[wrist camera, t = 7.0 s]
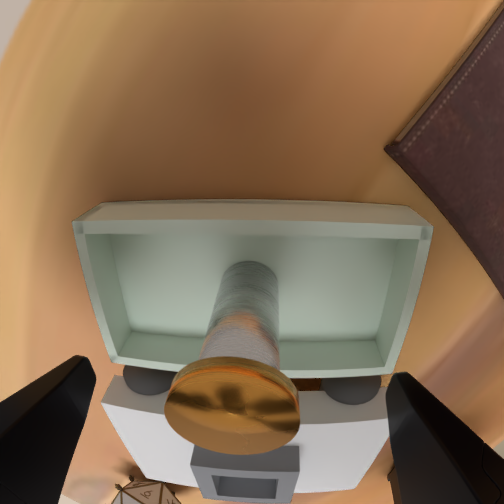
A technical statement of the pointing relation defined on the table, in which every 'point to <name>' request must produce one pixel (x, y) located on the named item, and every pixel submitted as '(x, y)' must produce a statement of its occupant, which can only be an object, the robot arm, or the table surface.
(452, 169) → the notebook
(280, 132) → the table surface
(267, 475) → the white socket plate
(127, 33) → the table surface
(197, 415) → the pin
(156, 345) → the tray
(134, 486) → the game die
